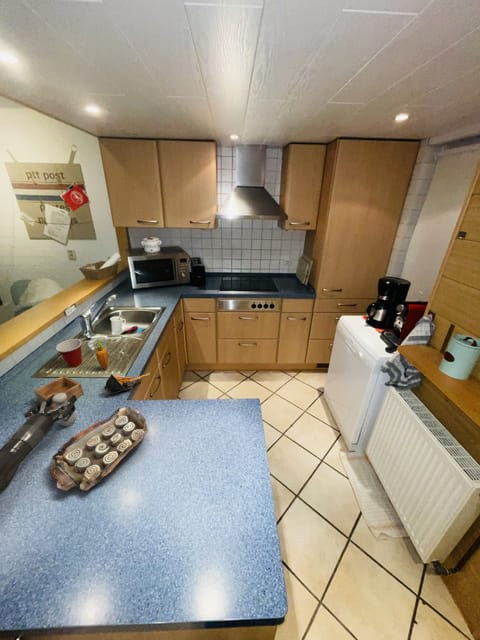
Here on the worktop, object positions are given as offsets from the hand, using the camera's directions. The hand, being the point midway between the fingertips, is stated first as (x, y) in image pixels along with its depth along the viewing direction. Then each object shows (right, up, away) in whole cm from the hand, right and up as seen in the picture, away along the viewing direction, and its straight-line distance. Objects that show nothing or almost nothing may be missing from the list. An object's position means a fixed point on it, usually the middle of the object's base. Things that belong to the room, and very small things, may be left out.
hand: (64, 396), depth 92 cm
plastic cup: (-20, +5, +36) cm, 41 cm away
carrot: (-2, +3, +33) cm, 33 cm away
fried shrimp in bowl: (+14, -2, +21) cm, 25 cm away
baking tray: (+20, -16, -8) cm, 26 cm away
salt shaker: (0, -11, +2) cm, 11 cm away
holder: (-11, -5, +14) cm, 19 cm away
